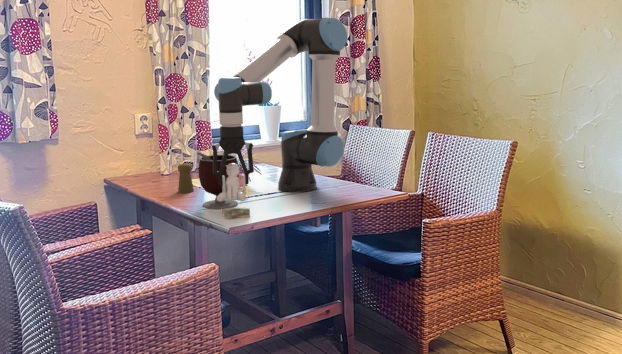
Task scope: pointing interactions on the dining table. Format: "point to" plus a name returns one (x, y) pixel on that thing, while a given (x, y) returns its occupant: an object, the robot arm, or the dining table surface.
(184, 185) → the cork
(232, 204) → the mate gourd
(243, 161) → the robot arm
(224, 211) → the green brown flat box
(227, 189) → the seated beast figurine
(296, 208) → the dining table surface
